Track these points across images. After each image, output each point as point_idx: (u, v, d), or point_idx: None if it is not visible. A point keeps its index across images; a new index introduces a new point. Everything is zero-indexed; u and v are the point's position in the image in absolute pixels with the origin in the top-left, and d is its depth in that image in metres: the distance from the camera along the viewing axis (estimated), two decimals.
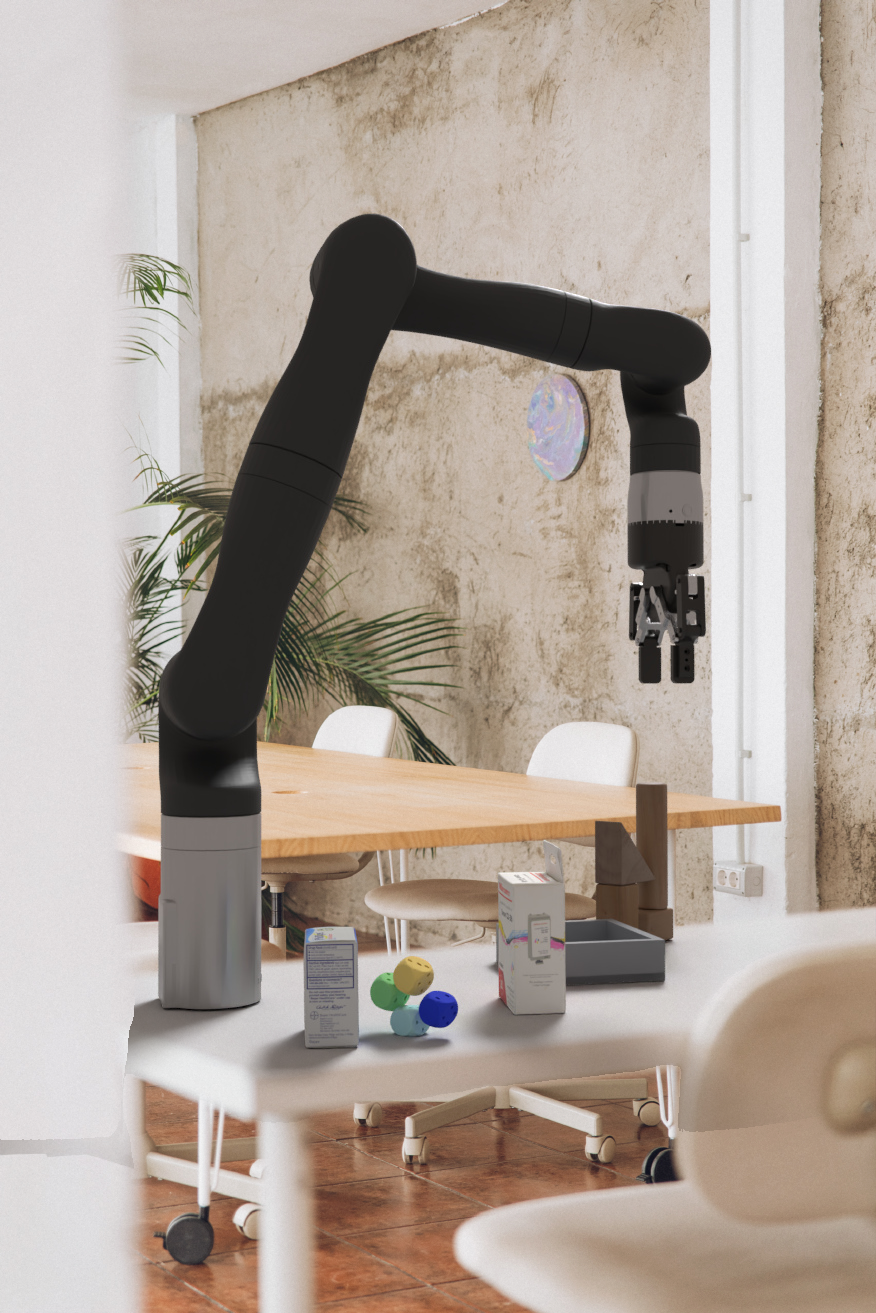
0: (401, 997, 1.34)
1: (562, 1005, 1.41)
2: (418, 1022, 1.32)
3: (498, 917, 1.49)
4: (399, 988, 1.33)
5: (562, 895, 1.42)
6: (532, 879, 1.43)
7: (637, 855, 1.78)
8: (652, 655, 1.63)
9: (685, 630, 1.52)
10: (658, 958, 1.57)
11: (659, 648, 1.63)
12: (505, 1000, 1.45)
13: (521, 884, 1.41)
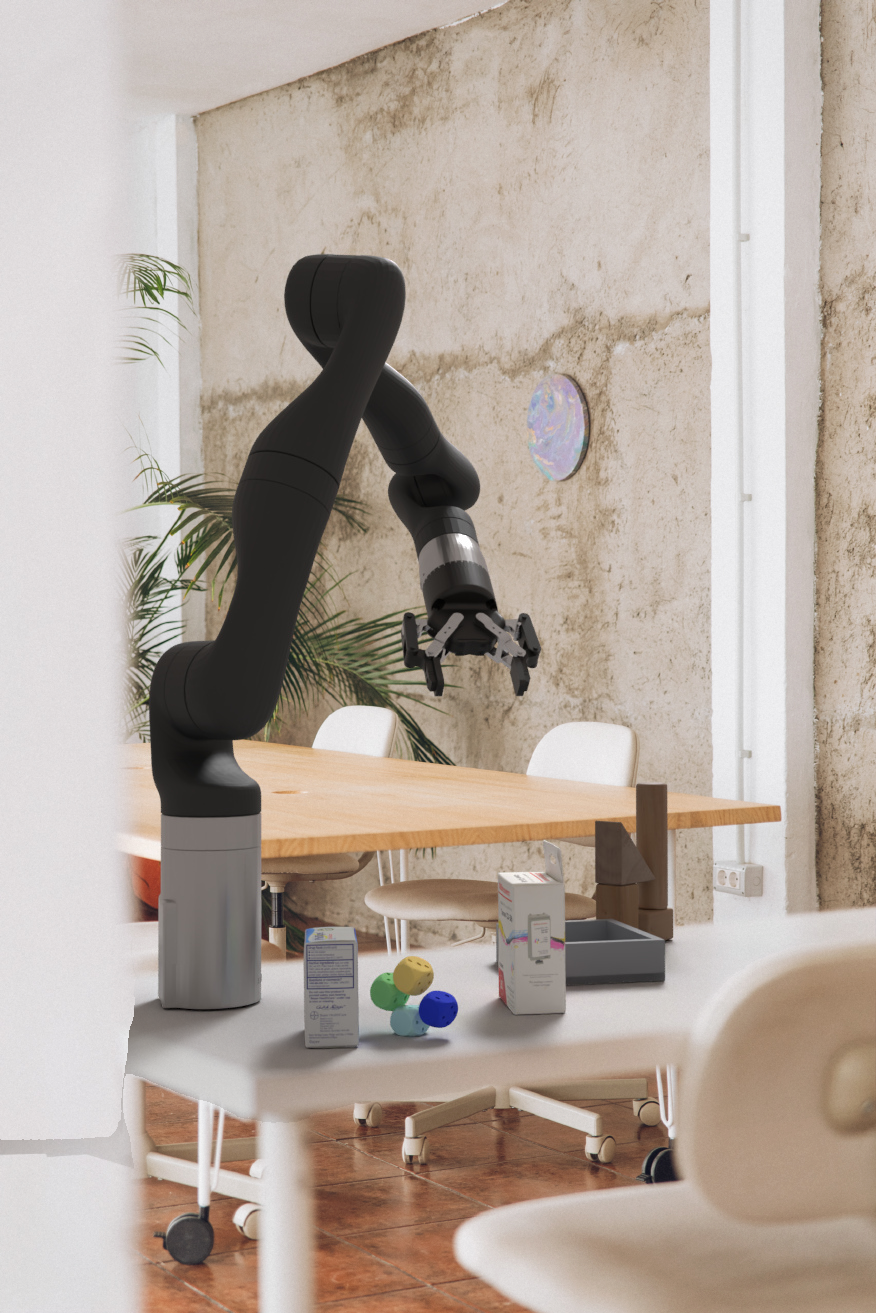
0: (401, 997, 1.34)
1: (562, 1005, 1.41)
2: (418, 1022, 1.32)
3: (498, 917, 1.49)
4: (399, 988, 1.33)
5: (562, 895, 1.42)
6: (532, 879, 1.43)
7: (637, 855, 1.78)
8: None
9: None
10: (658, 958, 1.57)
11: None
12: (505, 1000, 1.45)
13: (521, 884, 1.41)
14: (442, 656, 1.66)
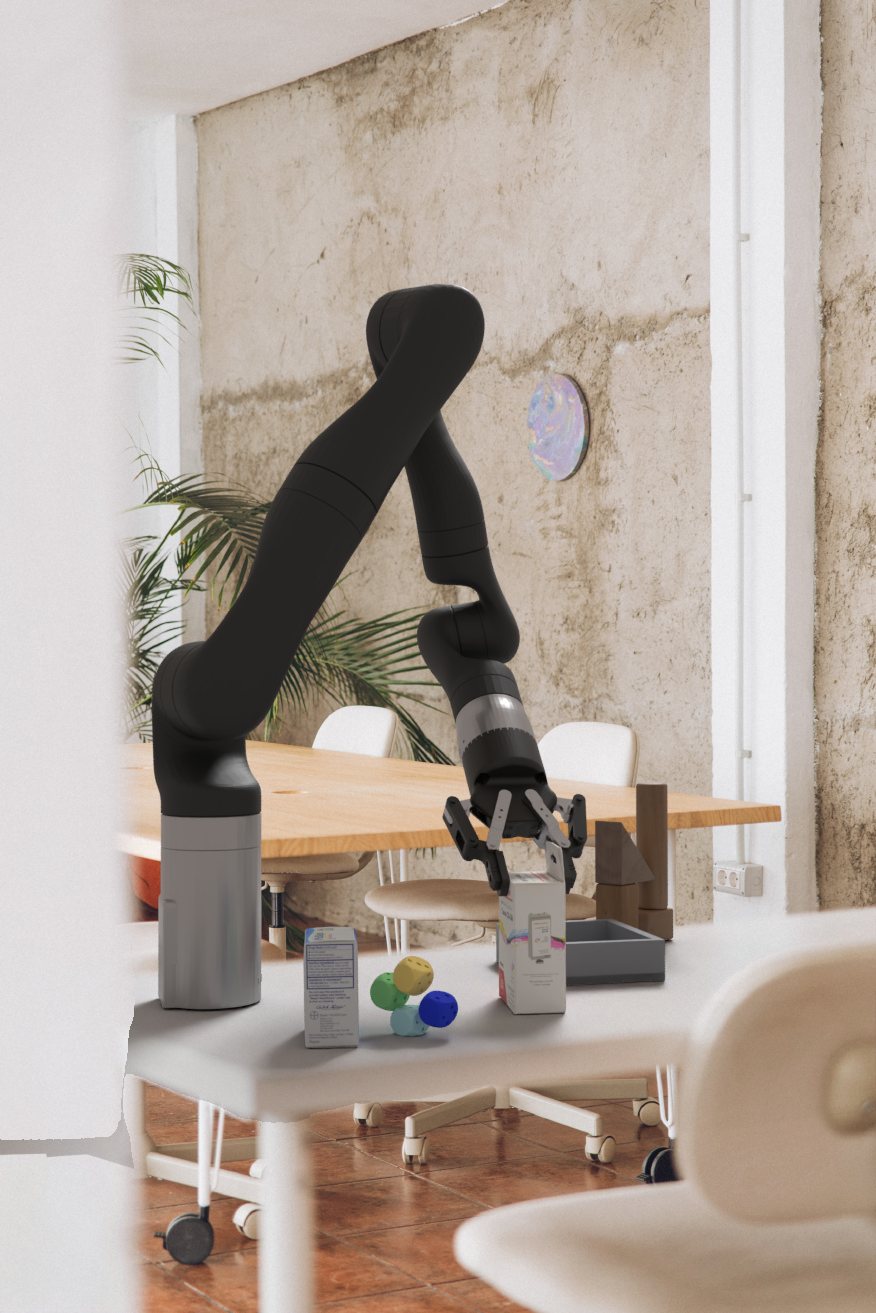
0: (401, 997, 1.34)
1: (563, 1004, 1.41)
2: (418, 1022, 1.32)
3: (499, 916, 1.49)
4: (399, 989, 1.33)
5: (563, 894, 1.42)
6: (533, 878, 1.43)
7: (637, 855, 1.78)
8: None
9: None
10: (658, 958, 1.57)
11: None
12: (505, 999, 1.45)
13: (522, 883, 1.41)
14: None
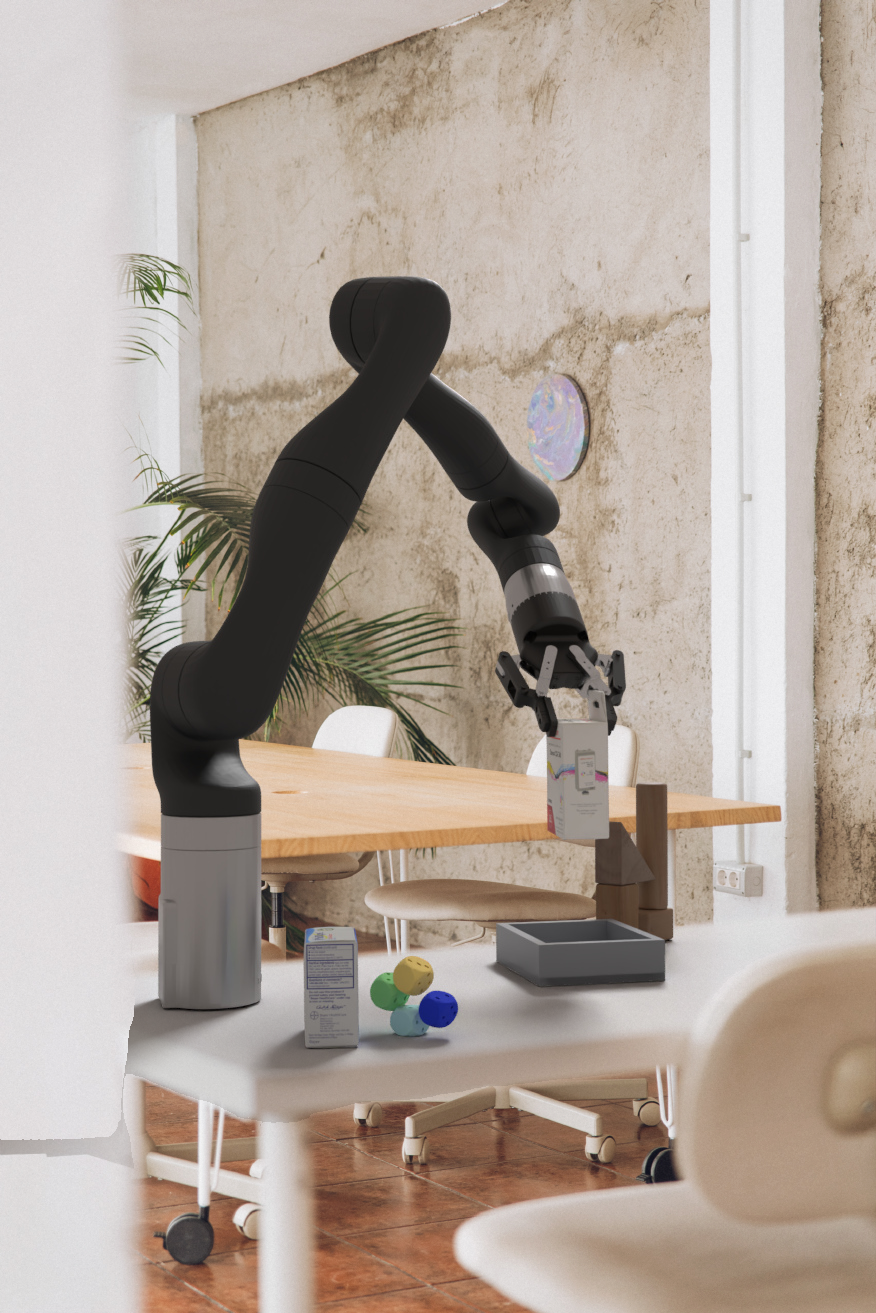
0: (401, 997, 1.34)
1: (606, 831, 1.58)
2: (418, 1022, 1.32)
3: None
4: (399, 989, 1.33)
5: (605, 733, 1.58)
6: (578, 720, 1.60)
7: (637, 855, 1.78)
8: None
9: None
10: (658, 958, 1.57)
11: None
12: (554, 831, 1.62)
13: (569, 723, 1.58)
14: None
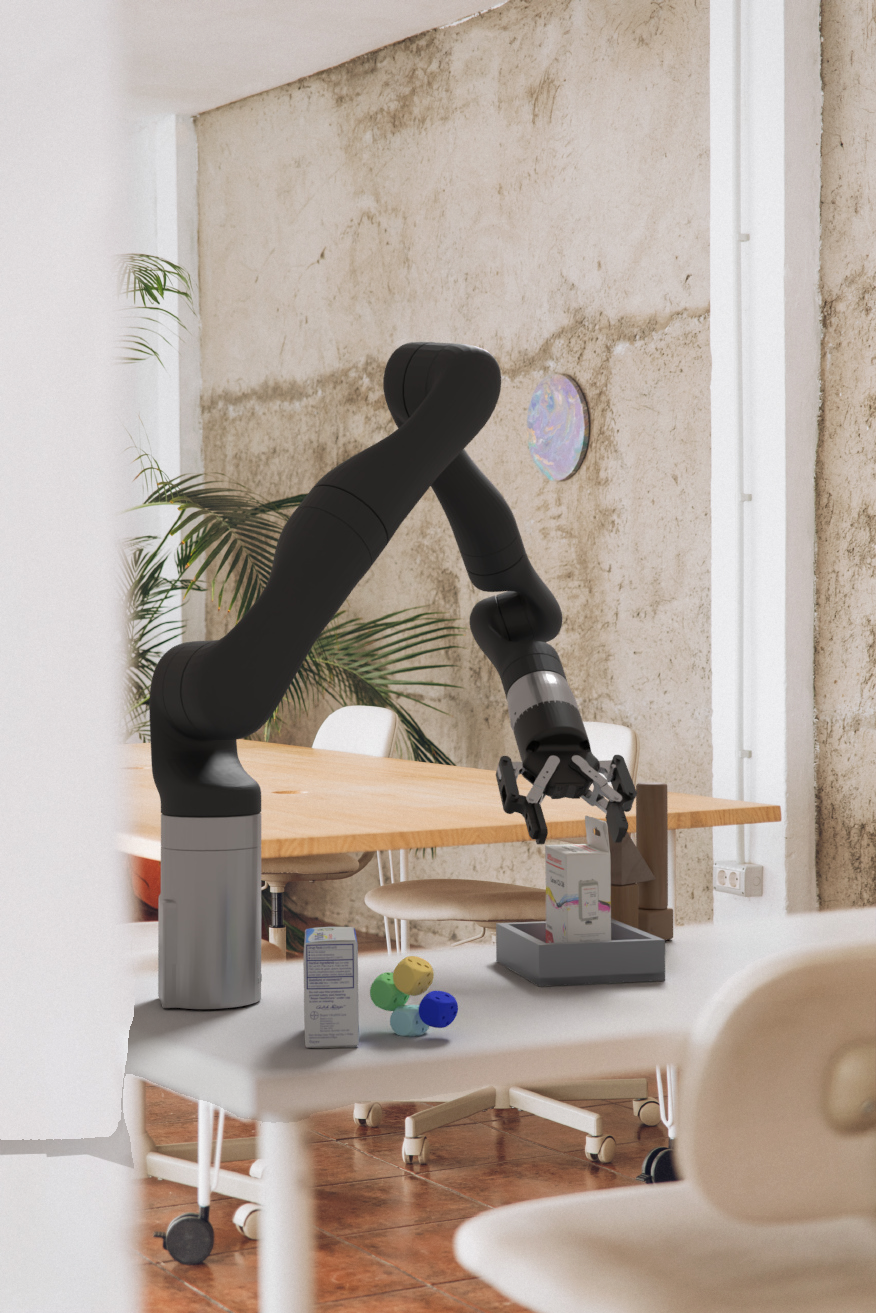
0: (401, 997, 1.34)
1: None
2: (418, 1022, 1.32)
3: None
4: (399, 989, 1.33)
5: (608, 863, 1.60)
6: (580, 849, 1.61)
7: (637, 855, 1.78)
8: None
9: None
10: (658, 958, 1.57)
11: None
12: None
13: (572, 854, 1.59)
14: (540, 800, 1.66)
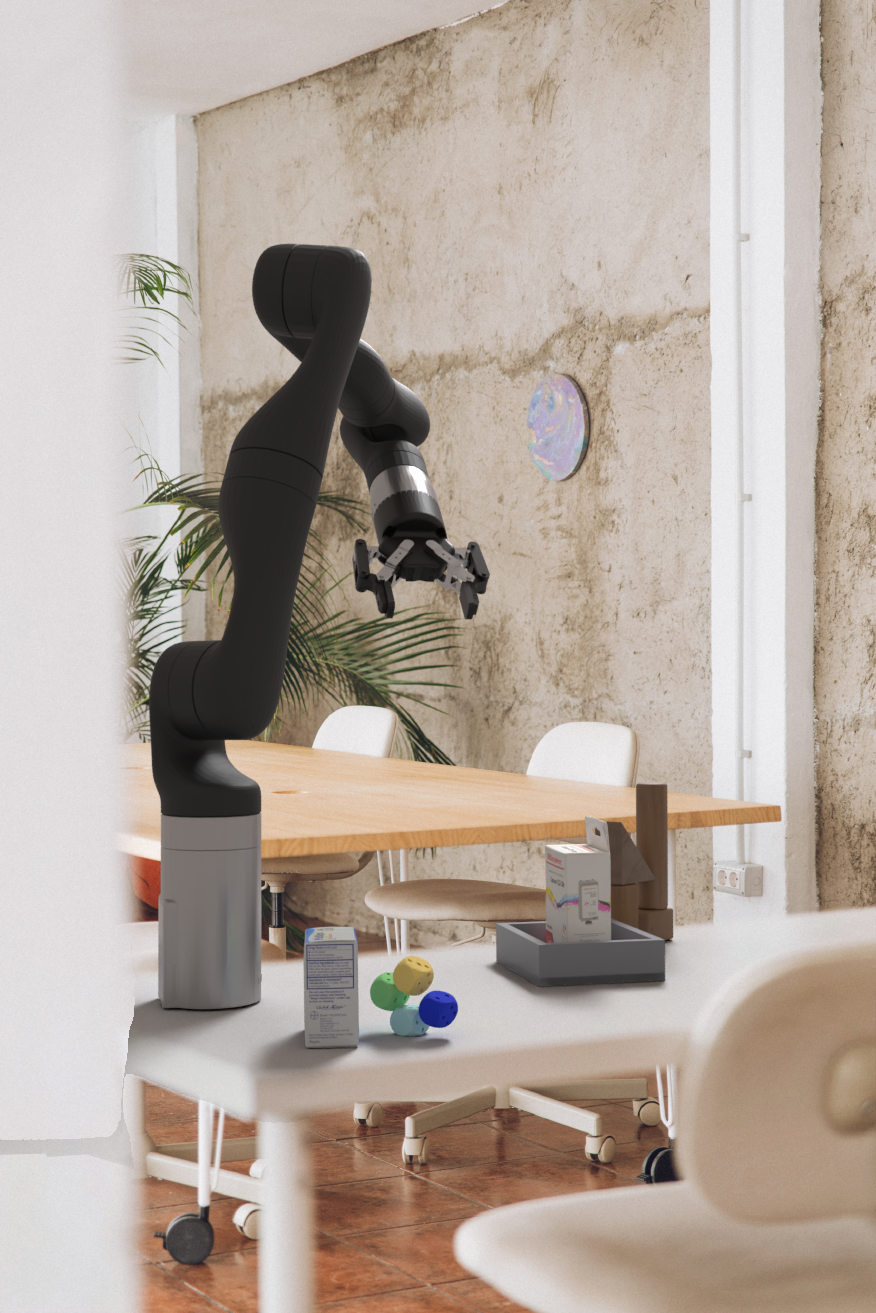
0: (401, 997, 1.34)
1: None
2: (418, 1022, 1.32)
3: None
4: (399, 989, 1.33)
5: (608, 863, 1.60)
6: (580, 849, 1.61)
7: (637, 855, 1.78)
8: None
9: None
10: (658, 958, 1.57)
11: None
12: None
13: (572, 853, 1.59)
14: (393, 581, 1.70)
